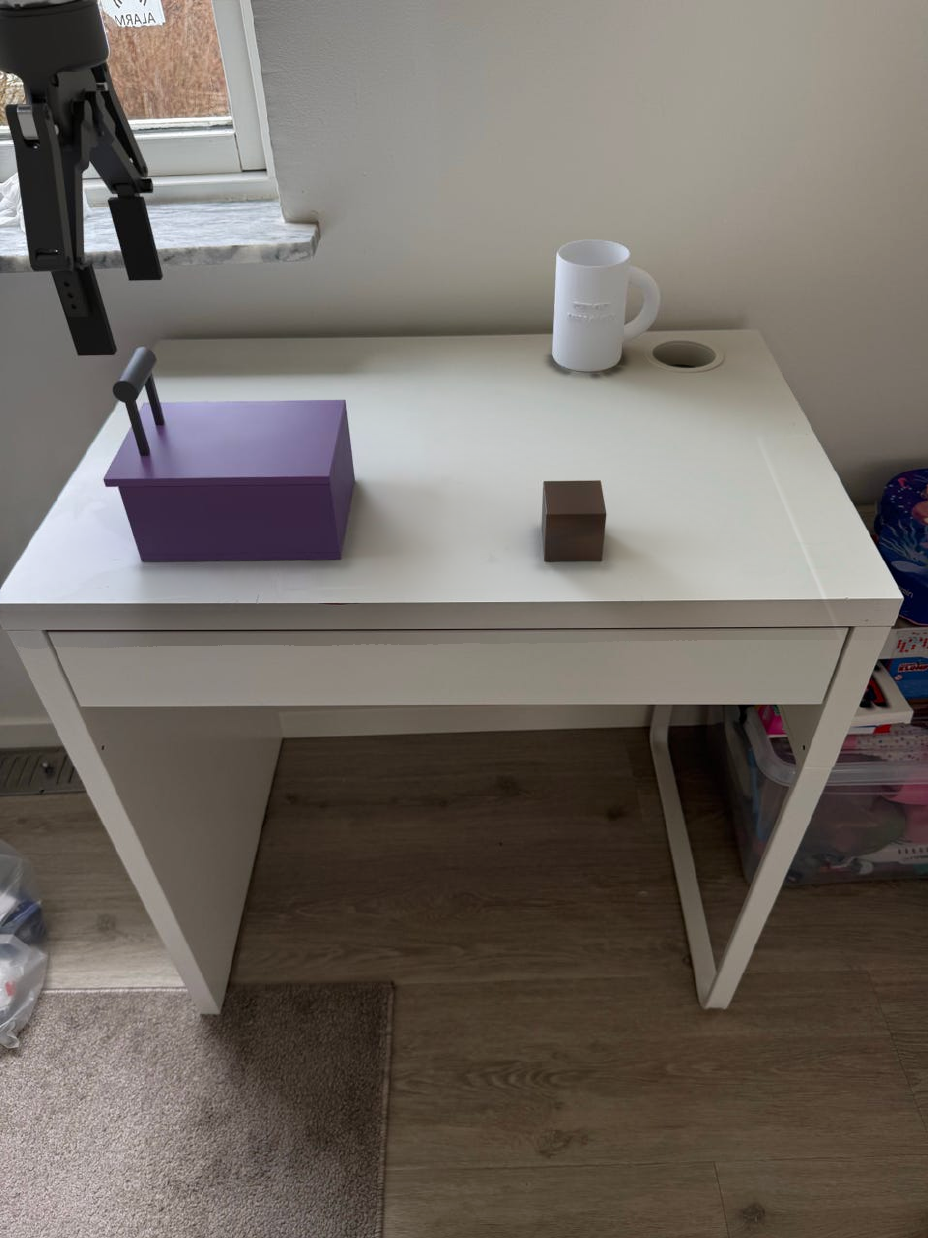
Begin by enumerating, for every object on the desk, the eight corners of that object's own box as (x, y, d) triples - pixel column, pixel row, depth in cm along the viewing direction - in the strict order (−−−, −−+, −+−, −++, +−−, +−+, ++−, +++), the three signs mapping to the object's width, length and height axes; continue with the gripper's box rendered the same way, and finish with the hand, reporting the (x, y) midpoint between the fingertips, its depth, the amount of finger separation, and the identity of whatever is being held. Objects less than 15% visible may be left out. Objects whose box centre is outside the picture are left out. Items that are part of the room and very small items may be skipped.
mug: (661, 369, 107) (675, 264, 99) (557, 374, 107) (562, 269, 99) (647, 337, 113) (658, 235, 105) (548, 342, 113) (552, 240, 105)
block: (544, 561, 82) (546, 514, 78) (541, 527, 85) (543, 480, 82) (602, 561, 82) (606, 513, 78) (596, 526, 85) (600, 479, 82)
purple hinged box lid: (105, 487, 78) (77, 402, 73) (145, 410, 87) (123, 329, 82) (330, 484, 77) (318, 398, 72) (346, 407, 87) (336, 326, 81)
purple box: (141, 561, 83) (117, 487, 78) (175, 481, 92) (156, 410, 87) (340, 559, 83) (330, 484, 77) (355, 479, 92) (346, 407, 87)
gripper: (22, 34, 51) (126, 389, 65) (144, -38, 70) (204, 251, 84) (-115, 37, 51) (19, 391, 65) (43, -35, 70) (120, 253, 84)
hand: (123, 313), depth 75 cm, fingers open, 13 cm apart
